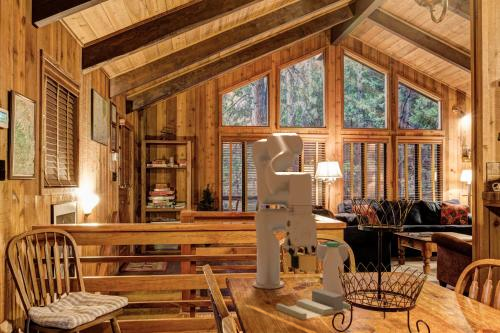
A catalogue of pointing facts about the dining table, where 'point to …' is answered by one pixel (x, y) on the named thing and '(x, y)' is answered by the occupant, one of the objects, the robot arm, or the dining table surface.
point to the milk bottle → (332, 269)
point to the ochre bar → (303, 262)
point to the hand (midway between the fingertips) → (300, 266)
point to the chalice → (323, 251)
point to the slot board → (309, 309)
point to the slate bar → (328, 299)
